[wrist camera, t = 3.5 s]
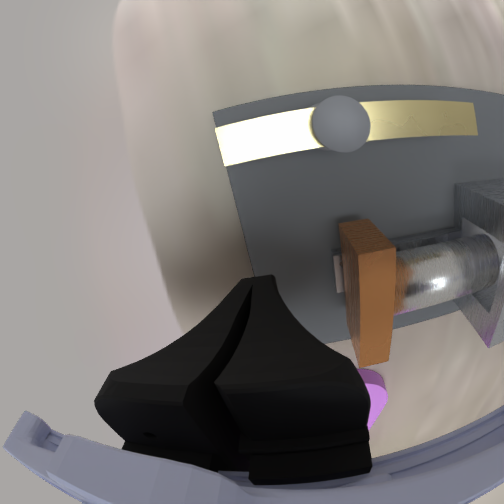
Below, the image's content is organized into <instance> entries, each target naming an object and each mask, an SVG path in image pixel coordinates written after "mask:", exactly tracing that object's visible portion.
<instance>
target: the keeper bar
mask: <svg viewBox="0 0 504 504" xmlns="http://www.w3.org/2000/svg"><path fill="white" fill-rule="evenodd" d="M359 103H360V104H361V105H362V106H363V107H364V108H365V110H366V111H367V113H368V116H369V119H370V124H371V129H370V134H369V137H368V139H367V141H372V140H381V139H393V138H405V137H422V136H449V135H478V131H477V123H476V116H475V110H474V105H473V103H469V102H457V101H438V100H392V101H372V102H359ZM315 108H316V107H315ZM315 108H308V109H301V110H295V111H290V112H284V113H279V114H274V115H269V116H264V117H259V118H254V119H250V120H246V121H242V122H237V123H233V124H229V125H226V126H222V127H218V128H215V131H216V135H217V139H218V142H219V146H220V150H221V154H222V158H223V162H224V166H229V165H233V164H237V163H241V162H246V161H250V160H255V159H259V158H264V157H269V156H274V155H279V154H284V153H290V152H295V151H301V150H307V149H313V148H319V147H325V146H323V145H322V144H321V143H320V142H319V141H318V140H317V138H316V137H315V135H314V132H313V129H312V124H311V120H312V115H313V112H314V110H315Z"/></svg>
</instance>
